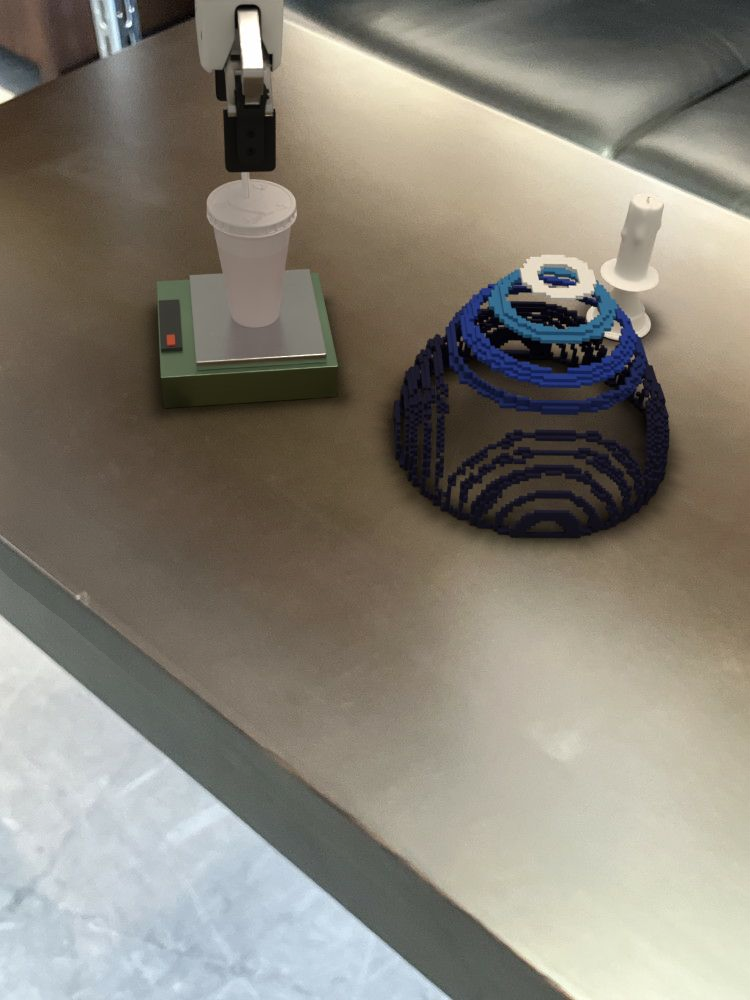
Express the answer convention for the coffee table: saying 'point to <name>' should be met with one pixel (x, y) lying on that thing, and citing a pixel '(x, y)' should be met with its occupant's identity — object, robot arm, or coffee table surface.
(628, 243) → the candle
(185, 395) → the scale
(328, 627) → the coffee table surface
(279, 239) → the smoothie
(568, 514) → the decorative bowl
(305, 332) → the scale platform
